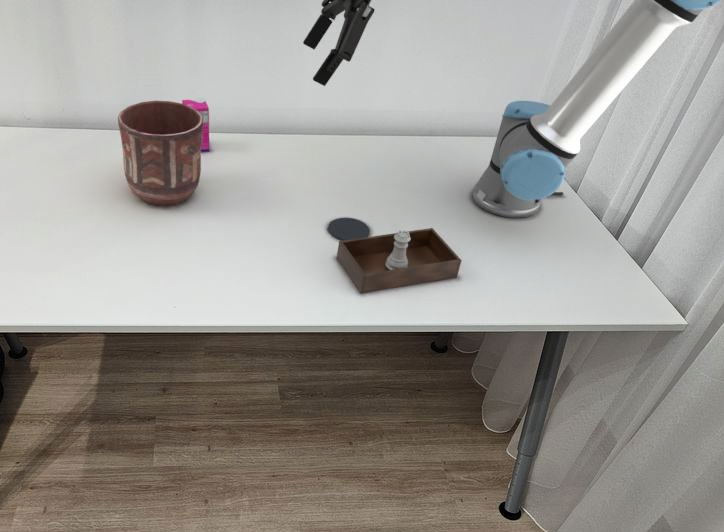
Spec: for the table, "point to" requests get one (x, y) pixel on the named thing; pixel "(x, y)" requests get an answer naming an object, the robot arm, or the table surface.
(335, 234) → the coaster
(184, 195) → the pottery
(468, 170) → the table surface
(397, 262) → the rook chess piece
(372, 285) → the tray
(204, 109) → the supplement box
